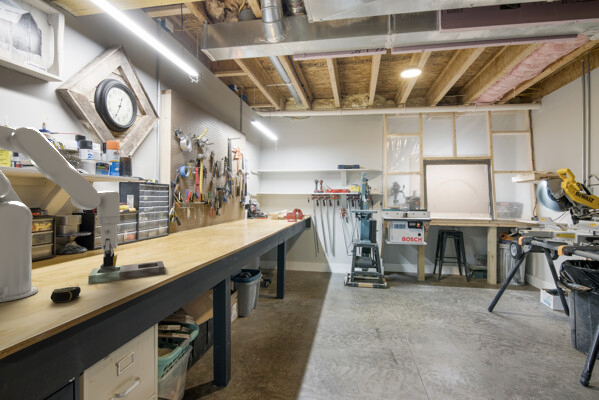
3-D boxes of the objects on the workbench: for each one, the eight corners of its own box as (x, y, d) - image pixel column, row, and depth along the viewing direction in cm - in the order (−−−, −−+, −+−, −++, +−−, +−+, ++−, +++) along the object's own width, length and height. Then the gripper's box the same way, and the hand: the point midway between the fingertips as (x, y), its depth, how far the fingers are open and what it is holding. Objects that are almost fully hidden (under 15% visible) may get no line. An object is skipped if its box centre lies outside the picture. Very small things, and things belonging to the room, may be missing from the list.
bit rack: (162, 267, 124) (162, 260, 124) (164, 273, 114) (164, 266, 114) (92, 275, 111) (92, 268, 111) (88, 283, 100) (88, 275, 100)
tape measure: (81, 295, 89) (81, 284, 89) (77, 302, 83) (77, 290, 83) (54, 299, 86) (54, 287, 86) (47, 306, 80) (47, 294, 80)
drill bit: (95, 275, 106) (110, 255, 114) (110, 279, 108) (123, 259, 115) (96, 269, 103) (111, 249, 110) (111, 274, 105) (124, 253, 112)
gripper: (118, 222, 103) (118, 268, 103) (120, 219, 118) (121, 259, 118) (94, 223, 99) (94, 270, 99) (99, 219, 114) (100, 261, 114)
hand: (109, 264), depth 109 cm, fingers closed on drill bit, 5 cm apart
